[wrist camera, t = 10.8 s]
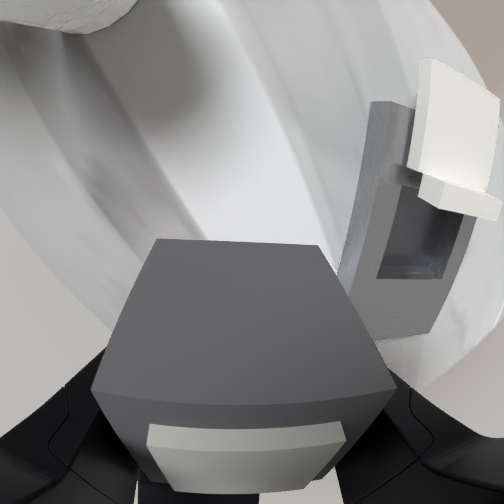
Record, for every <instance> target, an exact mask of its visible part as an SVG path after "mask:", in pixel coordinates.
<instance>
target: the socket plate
mask: <svg viewBox="0 0 504 504" xmlns="http://www.w3.org/2000/svg"><path fill="white" fill-rule="evenodd" d="M414 118H415V110H414V109H411V108H409V107H406V106H403V105H400V104H397V103H394V102H391V101H378V102H371V106H370V114H369V122H368V129H367V136H366V143H365V149H364V155H363V161H362V167H361V172H360V178H359V183H358V188H357V193H356V198H355V203H354V207H353V212H352V217H351V221H350V226H349V230H348V234H347V238H346V243H345V247H344V251H343V255H342V259H341V262H340V266H339V270H338V274H337V278H338V280H339V281H340V283H341V285H342V286H343V288H344V290H345V291H346V293H347V295H348V297H349V298H350V300H351V302H352V304H353V305H354V307H355V309H356V311H357V312H358V314H359V316H360V318H361V320H362V321H363V323H364V325H365V327H366V329H367V331H368V332H369V334H370V336H371V338H372V340H374V339H385V338H394V337H403V336H412V335H420V334H427V333H429V332H430V330H431V328H432V326H433V324H434V322H435V321H436V319H437V317H438V315H439V313H440V311H441V308H442V306H443V304H444V302H445V300H446V298H447V296H448V294H449V291H450V289H451V287H452V285H453V282H454V280H455V277H456V275H457V273H458V270H459V268H460V265H461V263H462V260H463V257H464V255H465V252H466V249H467V246H468V243H469V241H470V238H471V235H472V232H473V228H474V225H475V222H476V219H477V217H475V216H471V215H466V214H462V213H457V212H453V211H448V210H443V209H438V208H437V207H435V206H433V205H432V204H430V203H428V202H426V201H425V200H423V199H421V198H420V197H418V194H419V189H420V185H421V181H422V176H423V173H422V172H418V171H415V170H413V169H411V168H408V167H407V162H408V157H409V151H410V145H411V139H412V133H413V126H414Z"/></svg>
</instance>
